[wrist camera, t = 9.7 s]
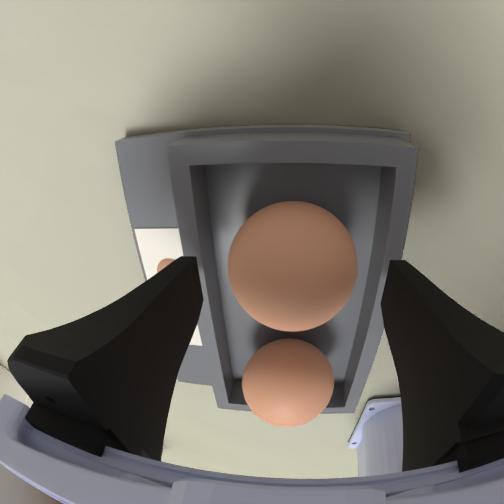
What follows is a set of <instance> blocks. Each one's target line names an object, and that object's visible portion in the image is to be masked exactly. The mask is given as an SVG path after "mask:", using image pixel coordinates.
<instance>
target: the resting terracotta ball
mask: <svg viewBox="0 0 504 504" xmlns="http://www.w3.org/2000/svg"><path fill="white" fill-rule="evenodd" d="M333 389H334V375H333V370H332V367H331V364H330V362H329V361H328V359H327V357H326V356H325V355H324V354H323V353H322V351H320V350H319V349H318V348H317V347H315V346H314V345H312V344H310V343H308V342H306V341H303V340H299V339H291V338H287V339H279V340H276V341H273V342H270V343H268V344H266V345H264V346H263V347H261V348H260V349H258V350H257V351H256V352H255V353H254V354H253V355H252V357H251V358H250V360H249V361H248V363H247V365H246V367H245V369H244V373H243V377H242V390H243V394H244V398H245V400H246V403H247V405H248V406H249V408H250V409H251V410H252V412H253V413H254V414H255V415H256V416H258V417H259V418H260V419H262V420H263V421H265V422H267V423H270V424H272V425H276V426H281V427H293V426H298V425H302V424H305V423H307V422H309V421H311V420H312V419H314V418H316V417H317V416H318V415H319V414H320V413H321V412H322V411H323V410H324V409H325V408H326V406H327V405H328V403H329V401H330V399H331V396H332V393H333Z"/></svg>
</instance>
